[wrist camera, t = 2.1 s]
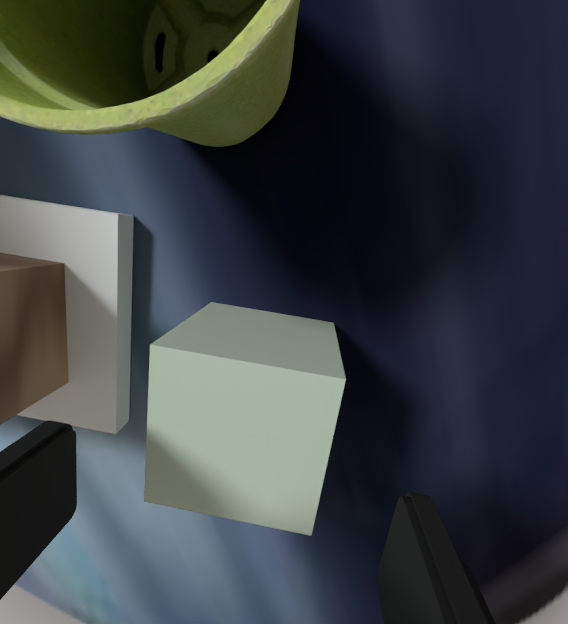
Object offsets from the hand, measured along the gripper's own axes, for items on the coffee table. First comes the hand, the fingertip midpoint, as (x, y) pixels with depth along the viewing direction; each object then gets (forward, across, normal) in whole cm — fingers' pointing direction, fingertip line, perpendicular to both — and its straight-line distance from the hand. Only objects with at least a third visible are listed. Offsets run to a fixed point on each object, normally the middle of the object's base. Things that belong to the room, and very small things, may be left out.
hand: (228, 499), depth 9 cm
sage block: (+7, 0, -1) cm, 8 cm away
